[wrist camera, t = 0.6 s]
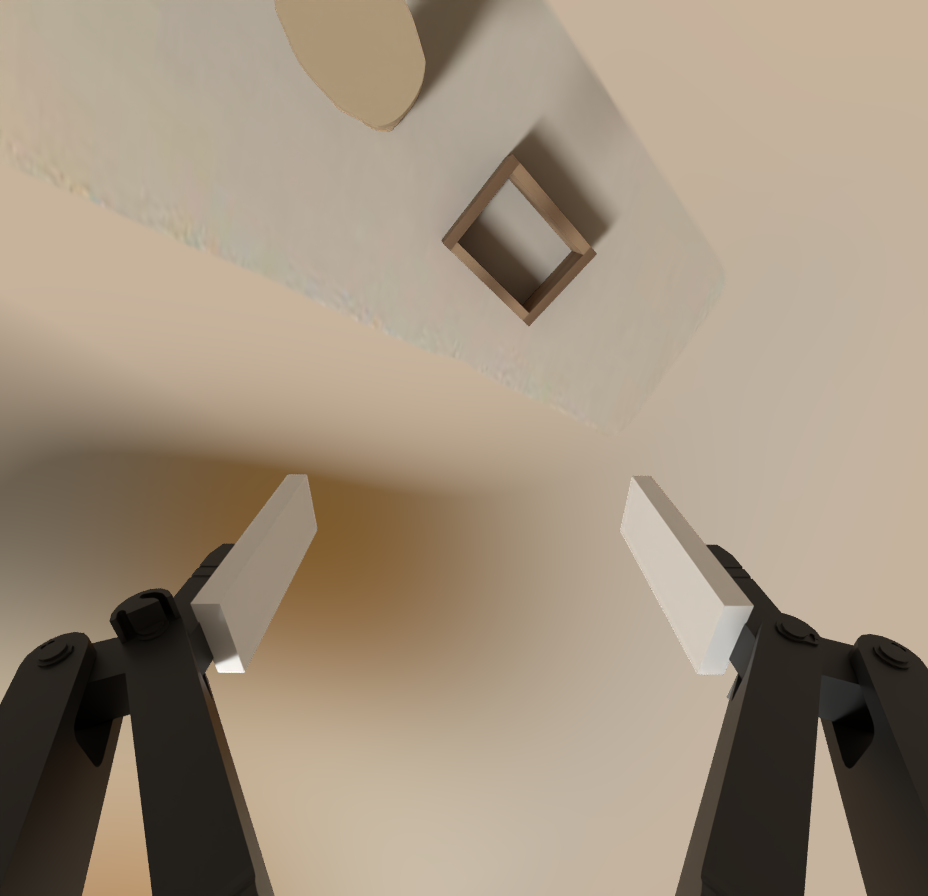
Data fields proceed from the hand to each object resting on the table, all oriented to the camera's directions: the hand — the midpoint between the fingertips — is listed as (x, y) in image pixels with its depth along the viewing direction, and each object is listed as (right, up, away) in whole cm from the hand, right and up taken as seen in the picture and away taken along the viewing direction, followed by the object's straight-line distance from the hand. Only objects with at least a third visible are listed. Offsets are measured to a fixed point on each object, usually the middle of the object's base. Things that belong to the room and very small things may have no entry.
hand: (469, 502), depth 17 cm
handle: (-6, +28, +14) cm, 31 cm away
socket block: (+4, +20, +19) cm, 28 cm away
